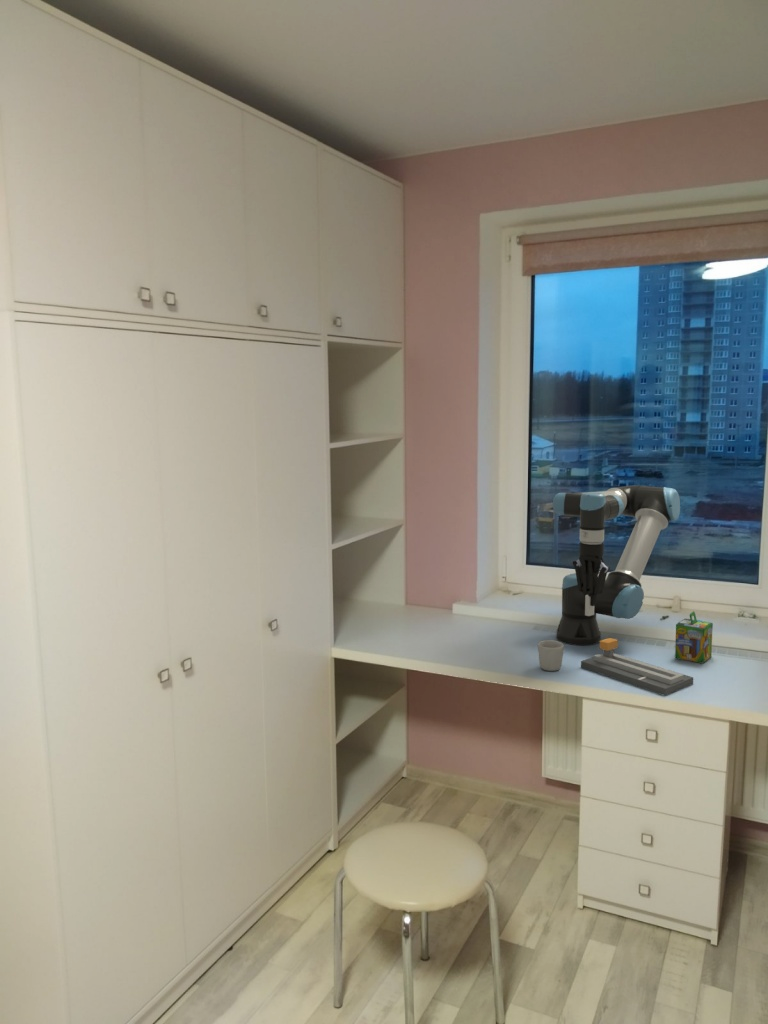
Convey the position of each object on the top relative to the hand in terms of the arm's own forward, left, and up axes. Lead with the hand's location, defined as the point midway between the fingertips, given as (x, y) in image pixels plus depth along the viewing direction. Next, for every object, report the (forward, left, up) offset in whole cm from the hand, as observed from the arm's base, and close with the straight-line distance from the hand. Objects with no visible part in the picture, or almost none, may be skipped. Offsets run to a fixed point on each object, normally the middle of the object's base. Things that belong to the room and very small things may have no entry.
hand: (589, 614), depth 252 cm
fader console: (+17, 0, -15) cm, 23 cm away
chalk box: (+19, +28, -15) cm, 38 cm away
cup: (-4, -14, -15) cm, 21 cm away
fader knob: (+7, 0, -13) cm, 15 cm away
